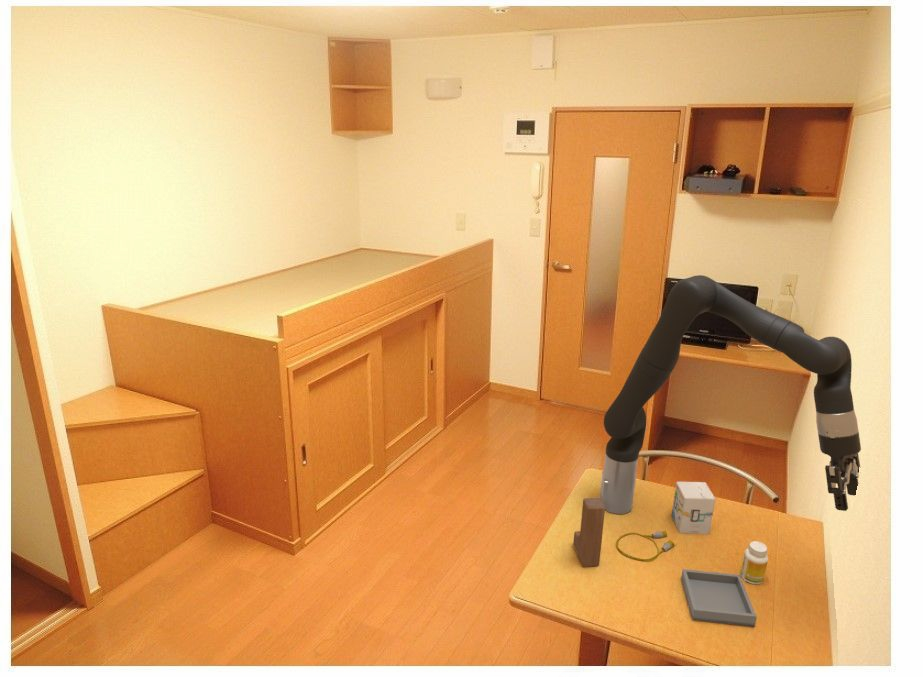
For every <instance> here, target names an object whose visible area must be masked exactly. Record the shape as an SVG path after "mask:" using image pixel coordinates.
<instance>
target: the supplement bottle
mask: <svg viewBox="0 0 923 677" xmlns="http://www.w3.org/2000/svg"><path fill="white" fill-rule="evenodd" d="M743 553H744V554H743V558H742V563H741V569H740V574H739V575H740V577H741V579H742V580H744V581H745V582H747V583H750V584H752V585H760V584H762V583H763V582H764V580H765V574H766V571H767V566H768V562H769V556H768V554H767V553H768V546H767V545H766V544H765V543H762V542H761V541H755V540H754V541H751V542H750V543H749V546H748V547H747V549H745V551H744V552H743Z"/></svg>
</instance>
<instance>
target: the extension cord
mask: <svg viewBox="0 0 923 677" xmlns="http://www.w3.org/2000/svg"><path fill="white" fill-rule="evenodd" d="M630 535H638V536H640V537H643V538H646V539H648V540H650V541H652V543H654V545H655V547H656V550H657V553H656V554H655V555H653V556H652V557H649V558H640V557H636V556H633V555H630V554H628V553H626V552H624V551H623V550H621V549H620V547H619V541H620V540H621V539H622V538H623V539H624V537H628V536H630ZM666 537H668V532H667V531H666V530H663V531H661V530H657V531H656V532H653V533H651V534H650V535H649V534H648V535H647V534H642V533H638V532H627V533H625V534H622V535H620V536H619V537H618V538H617V540H615V546H616V549H617V551H618V552H619V553H620V554H621V555H622V556H624V557H625V558H628V559H631V560H635V561H640V562H645V563H650V562H654V561H655V560H657V559H658V557H659V555H660V554H661V553H662V552H667V551H669V550H671V549H672V547H675V545H676V544H675V542H674V541H673V540H671V539H670V540H668V541H667V542H666V541H665V543H663V545H662V547H661V550H659V546H658V545H657V543H656V541H655V540H654V539H663V538H666Z"/></svg>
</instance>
